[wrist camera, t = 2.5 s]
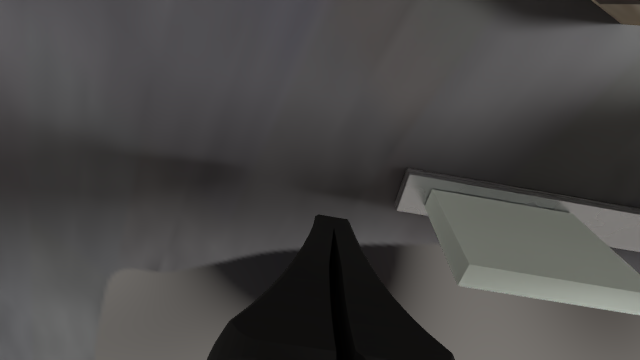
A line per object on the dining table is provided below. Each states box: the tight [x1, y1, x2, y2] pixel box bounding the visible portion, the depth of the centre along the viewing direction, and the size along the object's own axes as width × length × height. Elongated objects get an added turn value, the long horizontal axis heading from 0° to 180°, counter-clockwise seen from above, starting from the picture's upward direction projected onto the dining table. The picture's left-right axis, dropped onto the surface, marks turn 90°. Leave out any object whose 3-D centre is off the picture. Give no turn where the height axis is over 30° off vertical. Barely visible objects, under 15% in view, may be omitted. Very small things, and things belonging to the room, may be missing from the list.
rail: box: [395, 168, 640, 252], centre depth 18 cm, size 16×2×1 cm, turn 80°
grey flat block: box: [425, 189, 640, 315], centre depth 15 cm, size 8×1×6 cm, turn 80°
